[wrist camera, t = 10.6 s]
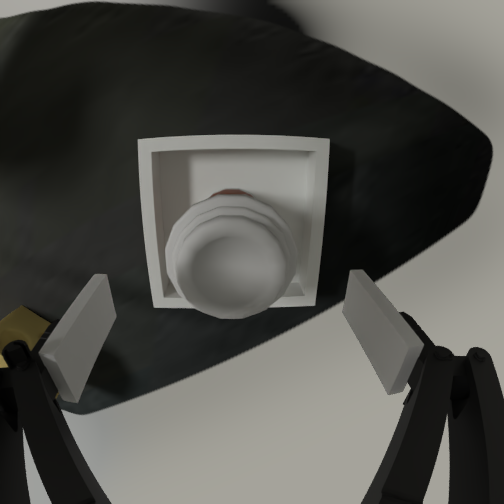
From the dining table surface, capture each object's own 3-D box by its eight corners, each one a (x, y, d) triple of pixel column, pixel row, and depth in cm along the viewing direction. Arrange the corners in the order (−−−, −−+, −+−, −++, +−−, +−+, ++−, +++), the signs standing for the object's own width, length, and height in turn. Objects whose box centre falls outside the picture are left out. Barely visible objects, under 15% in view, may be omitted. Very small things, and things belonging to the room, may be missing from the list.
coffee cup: (295, 208, 30) (332, 255, 19) (242, 277, 32) (248, 351, 21) (219, 155, 27) (209, 170, 16) (169, 231, 30) (135, 289, 19)
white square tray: (148, 138, 27) (137, 139, 23) (318, 138, 28) (329, 138, 24) (160, 290, 33) (154, 307, 30) (307, 288, 34) (314, 305, 31)
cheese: (76, 334, 35) (47, 383, 26) (69, 378, 38) (47, 423, 29) (18, 300, 32) (-19, 340, 23) (18, 348, 36) (-10, 387, 27)
